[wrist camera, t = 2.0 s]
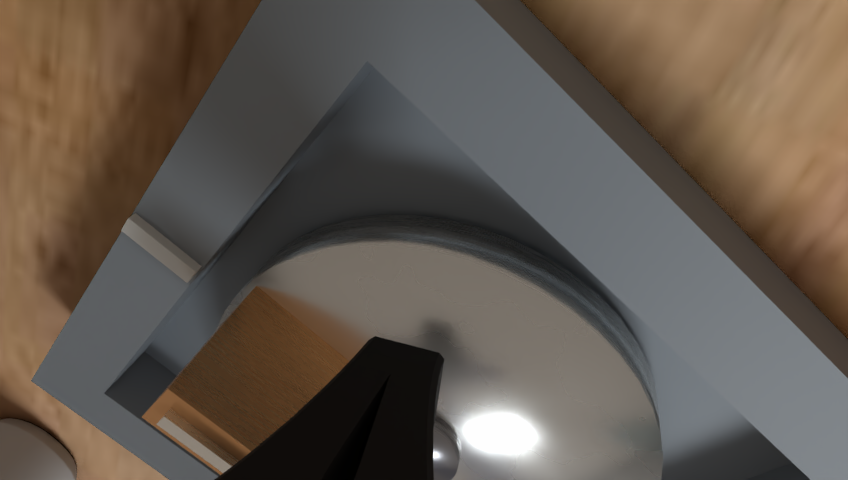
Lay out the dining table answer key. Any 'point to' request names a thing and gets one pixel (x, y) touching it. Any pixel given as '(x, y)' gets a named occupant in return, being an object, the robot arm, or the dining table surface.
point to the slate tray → (462, 202)
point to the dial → (437, 331)
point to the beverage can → (32, 454)
